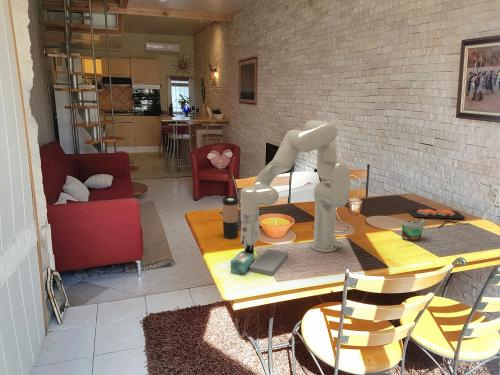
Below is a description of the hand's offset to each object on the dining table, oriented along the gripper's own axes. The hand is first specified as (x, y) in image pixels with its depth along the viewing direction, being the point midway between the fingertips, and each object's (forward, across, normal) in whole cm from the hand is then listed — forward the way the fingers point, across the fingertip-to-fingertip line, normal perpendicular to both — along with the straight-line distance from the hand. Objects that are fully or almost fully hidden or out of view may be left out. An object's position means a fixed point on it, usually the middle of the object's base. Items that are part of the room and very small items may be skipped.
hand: (249, 257), depth 163 cm
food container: (+3, +56, -64) cm, 85 cm away
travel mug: (+2, +23, +21) cm, 31 cm away
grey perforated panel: (+2, +2, -5) cm, 5 cm away
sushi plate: (+3, +96, -77) cm, 123 cm away
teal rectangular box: (+2, -7, 0) cm, 8 cm away
